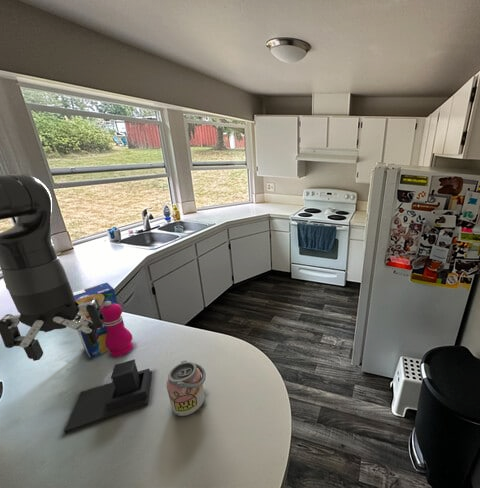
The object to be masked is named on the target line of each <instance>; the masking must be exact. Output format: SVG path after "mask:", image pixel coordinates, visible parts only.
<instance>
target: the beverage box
mask: <svg viewBox="0 0 480 488" xmlns="http://www.w3.org/2000/svg"><path fill="white" fill-rule="evenodd" d="M72 292H73V291H72ZM73 295H74V298H75V301H76V302H77V303H78V304H83V303H87V302H90V300H92V299H96V300H97V301H98V304H99V306H100V309H101V308H102V307H103V306H105V305H104V303H105V302H106V301H110V302H111V304H118V305H119V302H118V299H117V296H116V292H115V289H114V287H112V285H111V284H109V282H104V283H101V284H97V285H94V286H91V287H87V288H84V289H80V290H76V291H74V292H73ZM78 313H80V314H82V315H84V316H85V317H86V318H87V319H88V320H90V321H92V320H91V318H90V315H89V313H87V314H86V313H85V312H84V311H83V310H79V312H78ZM73 321H75V322H77V321H76V320H75V319H74V320H73ZM122 324H123V326H124V327H125V328H126V326H125V323H124V318H123V319H122ZM76 330H77V333H78V336H79V338H80V341H81V344H82V346H83V350H84V351H85V353H86V355H87V356H88V357H89V359H90V360H91V359H94V358H96V357H99V356H100V355H103V354H105V353H107V352H110V349H108V348H107V347H106V345H105V339H106V336H107V327H106V326H104V324H103V325H102V327H101V328H97V329H96V331H97V334H98V336H99V338H98V341H97V343H95V345H94V346H93V347H89V346H88V343H87V340H86V337H85V335H84V334H85V332H82V331H80V330H78V329H76Z"/></svg>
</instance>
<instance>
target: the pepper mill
mask: <svg viewBox="0 0 480 488" xmlns="http://www.w3.org/2000/svg"><path fill="white" fill-rule="evenodd" d="M104 305H105V306H103V307H102V308H101V311H102V313H103V316H104V318H105V321H104V323H103V324H104V326H106V327H107V336H106V339H105V345H106V347H107V348H108V349H110V350H109V354H110V356H111V357H114V358H118V357H122V356H126V355H127V354H129V353H130V352H131V351H132V350H133V349H134V344H133V341H132V340H133V335H132V333H131V331H130V330H129V329H127V328H126V326H125V325H124V326H125V327H124V326H123V324H122V319H123V320H124V318H123V315H122V314H123V308H122V306H121V305H120V304H119V303H118V304H111V302H110V301H106V302H105V303H104Z"/></svg>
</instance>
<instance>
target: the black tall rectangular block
mask: <svg viewBox="0 0 480 488" xmlns="http://www.w3.org/2000/svg"><path fill="white" fill-rule="evenodd" d="M110 378H111V380H112V381H113V383H114V386H115V389H116V392H117V395H118V397H120V396H123V395H126V394H129V393H132V392H135V391H138V390H140V386H141V380H140V377H139V374H138V367H137V364H136V359H130V360H127V361H122V362H120V363H119V362H118V363H115V364H114V366H113V369H112V372H111V375H110Z"/></svg>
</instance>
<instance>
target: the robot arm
mask: <svg viewBox="0 0 480 488" xmlns="http://www.w3.org/2000/svg"><path fill="white" fill-rule="evenodd" d="M52 201H53V200H52V196H51V193H50V191H49V189H48V188H47V186H46V185H45V184H44V183H43V182H42V181H41V180H39V179H38V178H36V177H35V176H33V175H30V174H26V173H25V174H23V173H14V174H0V221H3V220H7V219H13V218H16V221H15V224H14V225H13V226H12V227H10V228H8V229H6V230H4V231H1V232H0V270H1V275H2V279H3V282H4V284H5V288H6V290H7V291H8V294H9V295H10V297H11V299H12V301H13V304H14V306H15V308H16V310H17V312H18V313H19V314H16V315H14V314H12V313H7V314H5V315H4V316H3V317H2V318H1V319H0V337H1V339H2V343H3V345H4V347H5V348H7V349H11V348H14V347H20V348H23V350H24V352H25V354H26V357H27V358H28V359H29V360H32V361H33V362H36V361H39V360H41V359H42V357H43V356H44V351H43V348H42V346H41V344H40V342H39V339H37V338H36V337H37V335H38V334H39V332H43V333H48V332H52V331H55V330H63V329H66V328H70V329H72V330H75V331H76V330H77V329H78V330H80V331H82V332H85V334H84V335H85V337H86V340H87V343H88V346H89V347H93V346H94V345H95V343H97V341H98V338H99V336H98V334H97V331H96V329H97V328H101V327H102V325H103V323H104V321H105V318H104V316H103V313H102V311H101V309H100V306H99V304H98V301H97V300H96V299H92V300H90V302H87V303H83V304H78V303H77V302H76V301H75V298H74V295H73V289H72V287H71V284H70V281H69V278H68V275H67V273H66V270H65V267H64V265H63V264H62V262H61V260H60V258H59V256H58V253H57V251H56V248H55V245H54V242H53V240H52V211H53V202H52ZM79 310H83V311H84V312H85V313H86V314H87V313H89V315H90V318H91V320H92V321H90V320H88V319H87V318H86V317H85V316H84V315H82V314H80V313H78V312H79ZM74 319H75V320H76V321H77V322H75V321H74ZM20 323H21V324H23V325H25V326H28V327H29V330H28V331H27V333H26V334H25V335H21V332H20V330H19V327H18V326H19V324H20ZM35 338H36V339H35Z"/></svg>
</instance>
